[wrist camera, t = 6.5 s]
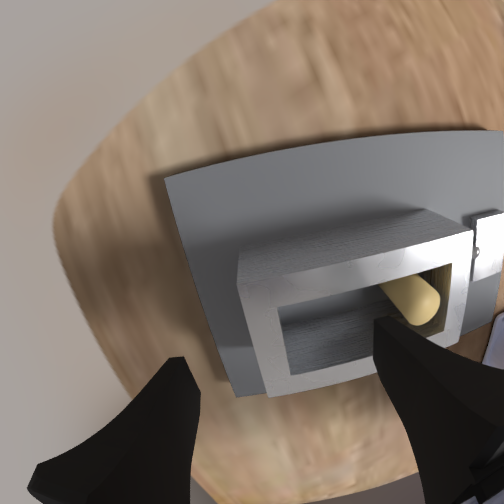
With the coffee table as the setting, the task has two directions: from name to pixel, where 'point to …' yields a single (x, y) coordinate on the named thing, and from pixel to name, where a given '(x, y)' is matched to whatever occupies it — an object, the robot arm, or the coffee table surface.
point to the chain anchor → (486, 244)
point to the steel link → (342, 280)
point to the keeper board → (330, 221)
